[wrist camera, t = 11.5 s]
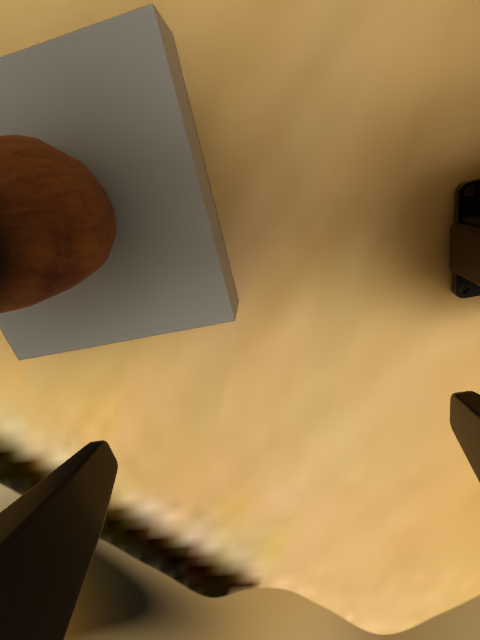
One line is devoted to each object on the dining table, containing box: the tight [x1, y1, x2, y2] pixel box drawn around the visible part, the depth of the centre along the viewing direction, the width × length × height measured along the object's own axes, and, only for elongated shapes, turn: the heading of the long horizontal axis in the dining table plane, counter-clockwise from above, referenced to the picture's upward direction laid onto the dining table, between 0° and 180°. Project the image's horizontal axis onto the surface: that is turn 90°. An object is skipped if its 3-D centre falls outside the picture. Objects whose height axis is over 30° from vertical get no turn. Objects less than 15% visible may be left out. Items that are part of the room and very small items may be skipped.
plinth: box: [0, 3, 239, 360], centre depth 18 cm, size 14×14×3 cm
